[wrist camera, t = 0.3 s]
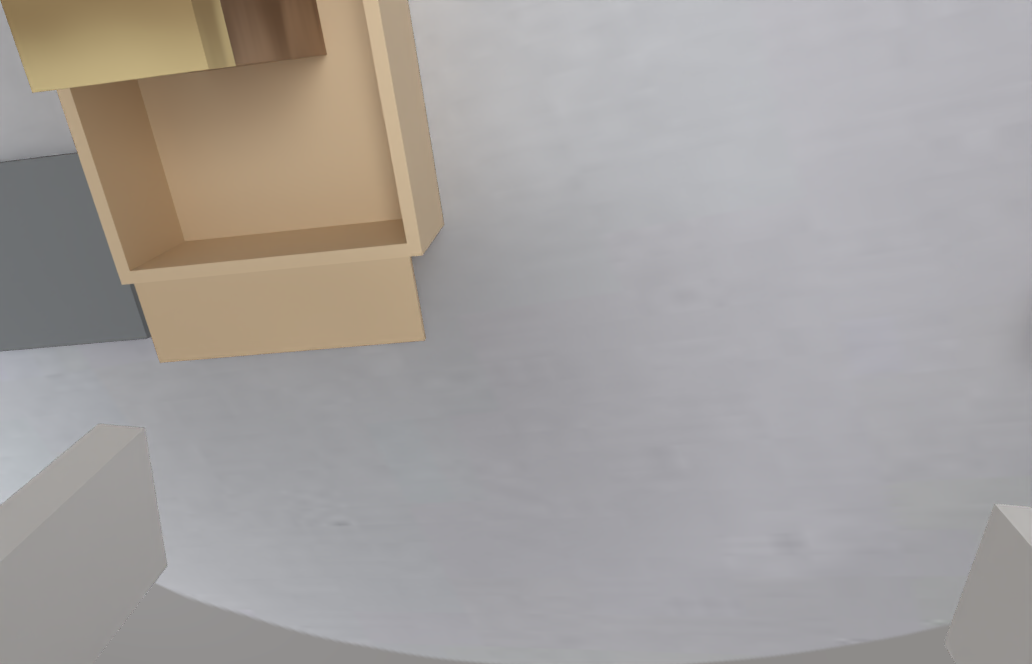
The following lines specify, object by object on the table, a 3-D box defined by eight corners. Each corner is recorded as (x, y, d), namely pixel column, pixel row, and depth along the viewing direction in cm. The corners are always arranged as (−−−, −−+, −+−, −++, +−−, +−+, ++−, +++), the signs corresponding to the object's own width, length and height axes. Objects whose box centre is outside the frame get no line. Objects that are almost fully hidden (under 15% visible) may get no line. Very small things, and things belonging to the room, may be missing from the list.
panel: (-82, 172, 39) (-94, 174, 38) (95, 150, 37) (85, 152, 37) (-8, 347, 42) (-19, 353, 42) (155, 332, 41) (147, 338, 40)
